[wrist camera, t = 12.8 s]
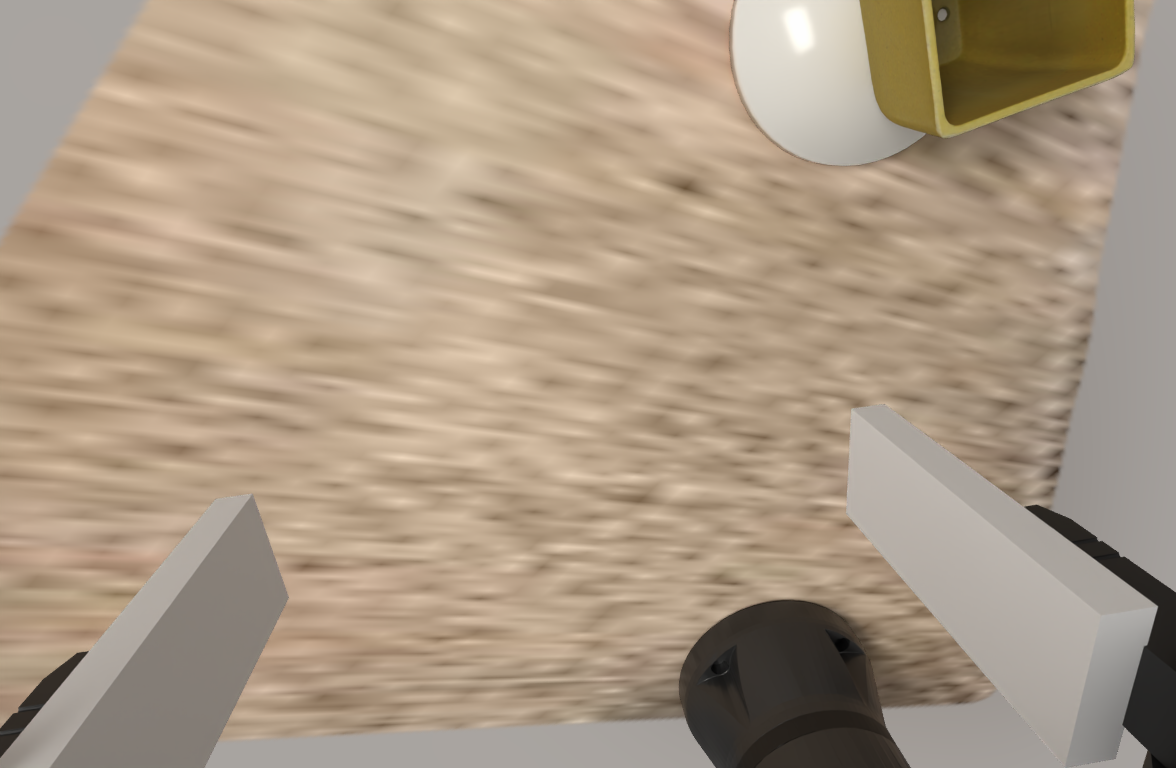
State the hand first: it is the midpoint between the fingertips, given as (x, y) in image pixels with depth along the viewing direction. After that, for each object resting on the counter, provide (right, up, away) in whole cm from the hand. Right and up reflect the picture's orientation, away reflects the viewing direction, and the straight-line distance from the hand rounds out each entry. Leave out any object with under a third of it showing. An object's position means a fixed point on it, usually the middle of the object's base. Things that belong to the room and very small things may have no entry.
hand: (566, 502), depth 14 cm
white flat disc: (+15, +22, +21) cm, 34 cm away
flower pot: (+18, +22, +20) cm, 35 cm away
